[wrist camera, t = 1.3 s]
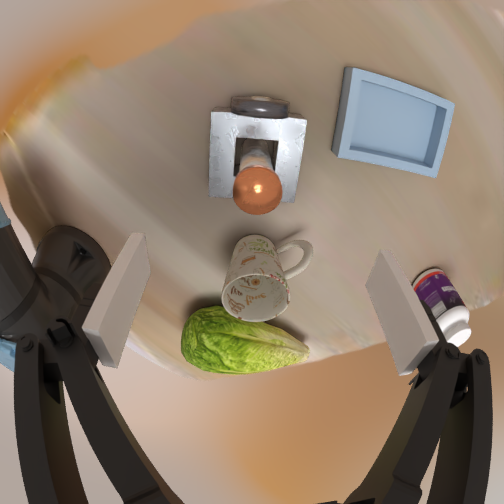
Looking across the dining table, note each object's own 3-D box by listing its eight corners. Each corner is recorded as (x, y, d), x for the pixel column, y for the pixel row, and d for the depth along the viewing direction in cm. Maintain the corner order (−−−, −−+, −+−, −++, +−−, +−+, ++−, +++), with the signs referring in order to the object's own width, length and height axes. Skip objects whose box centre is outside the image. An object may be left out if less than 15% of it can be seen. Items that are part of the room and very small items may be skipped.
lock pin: (237, 163, 34) (231, 212, 24) (239, 132, 32) (234, 167, 21) (269, 165, 34) (279, 216, 24) (272, 135, 32) (285, 171, 21)
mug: (215, 244, 41) (207, 293, 33) (290, 201, 37) (302, 244, 29) (247, 280, 46) (246, 329, 38) (317, 244, 42) (332, 291, 34)
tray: (331, 150, 33) (337, 157, 31) (344, 67, 27) (353, 67, 24) (425, 170, 34) (435, 178, 31) (442, 99, 27) (454, 103, 25)
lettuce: (287, 380, 56) (320, 390, 45) (172, 361, 49) (180, 372, 38) (296, 326, 60) (331, 325, 49) (185, 301, 53) (197, 294, 42)
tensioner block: (212, 183, 36) (205, 206, 31) (216, 92, 29) (209, 96, 24) (289, 189, 36) (297, 212, 31) (302, 99, 29) (314, 106, 24)
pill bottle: (449, 274, 46) (483, 328, 34) (423, 301, 50) (450, 357, 38) (429, 259, 44) (467, 318, 32) (401, 290, 48) (430, 351, 36)
